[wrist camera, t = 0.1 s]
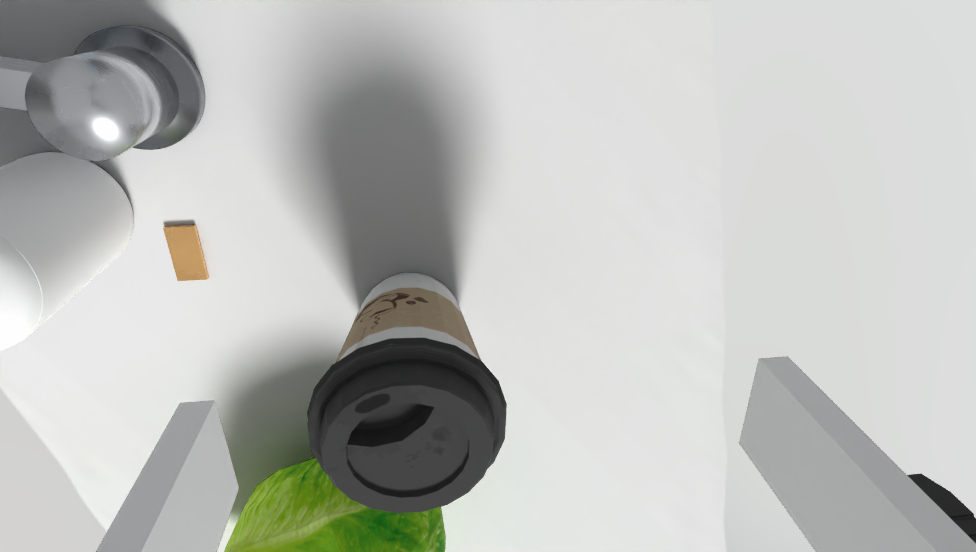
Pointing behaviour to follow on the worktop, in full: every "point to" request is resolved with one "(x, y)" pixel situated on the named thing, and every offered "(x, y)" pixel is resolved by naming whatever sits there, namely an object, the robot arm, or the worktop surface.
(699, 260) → the worktop surface
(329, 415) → the coffee cup
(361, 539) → the lettuce
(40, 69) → the crank
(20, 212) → the pill bottle
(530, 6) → the worktop surface
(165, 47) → the crank base
